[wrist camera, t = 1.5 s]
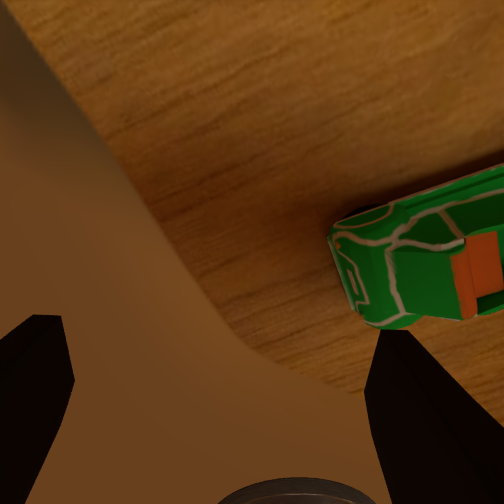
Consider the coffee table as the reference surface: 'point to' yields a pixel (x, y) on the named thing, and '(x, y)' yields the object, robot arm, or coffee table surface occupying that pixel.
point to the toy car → (425, 253)
